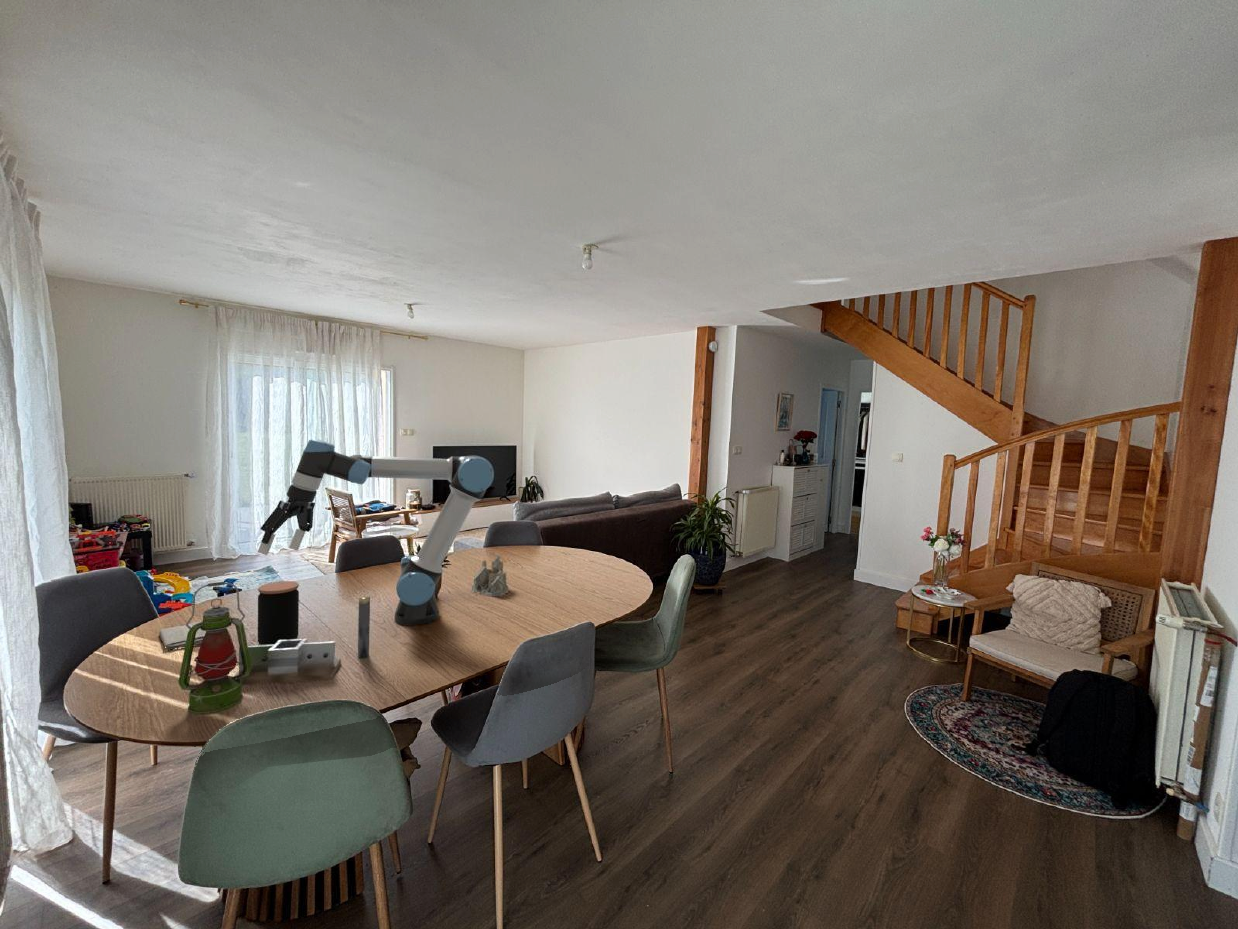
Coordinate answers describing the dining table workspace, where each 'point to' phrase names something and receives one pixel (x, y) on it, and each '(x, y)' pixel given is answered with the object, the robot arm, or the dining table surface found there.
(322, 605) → the dining table surface
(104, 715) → the dining table surface
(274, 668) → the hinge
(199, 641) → the washcloth
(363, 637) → the pin
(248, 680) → the hinge board
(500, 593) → the ceramic cottage
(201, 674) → the lantern
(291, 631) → the coffee jar
